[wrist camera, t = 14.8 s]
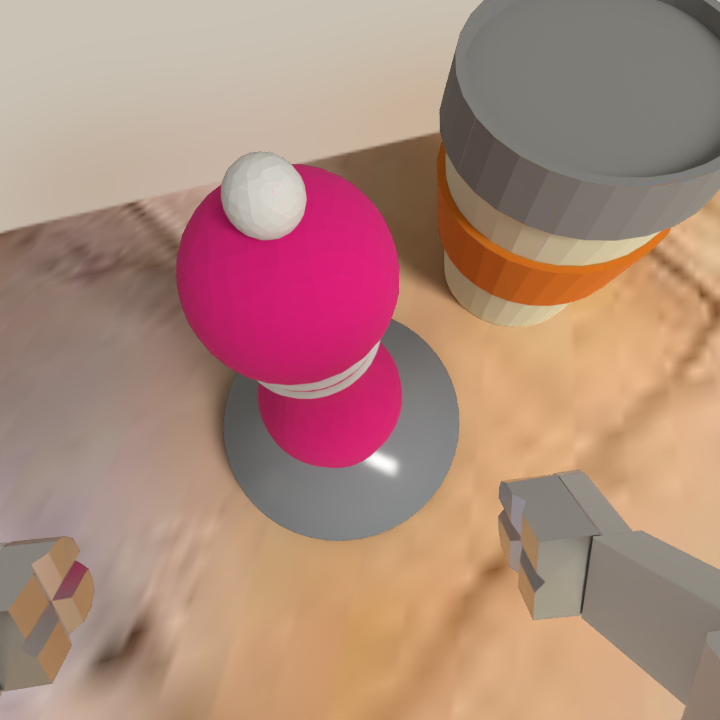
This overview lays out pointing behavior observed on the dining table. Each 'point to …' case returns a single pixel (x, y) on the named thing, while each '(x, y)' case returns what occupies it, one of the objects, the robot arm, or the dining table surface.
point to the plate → (361, 481)
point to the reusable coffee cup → (572, 146)
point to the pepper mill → (298, 303)
